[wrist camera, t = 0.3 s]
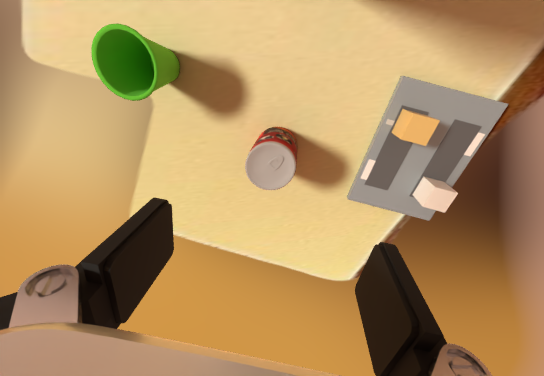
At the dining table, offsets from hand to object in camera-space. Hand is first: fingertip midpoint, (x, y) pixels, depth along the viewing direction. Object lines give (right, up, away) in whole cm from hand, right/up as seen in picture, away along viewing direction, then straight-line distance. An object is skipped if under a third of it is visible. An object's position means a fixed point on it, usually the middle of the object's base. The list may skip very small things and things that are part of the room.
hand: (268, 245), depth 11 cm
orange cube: (+23, +13, +29) cm, 39 cm away
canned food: (+1, +11, +35) cm, 36 cm away
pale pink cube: (+29, +3, +34) cm, 45 cm away
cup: (-18, +24, +30) cm, 43 cm away
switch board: (+26, +9, +32) cm, 43 cm away
